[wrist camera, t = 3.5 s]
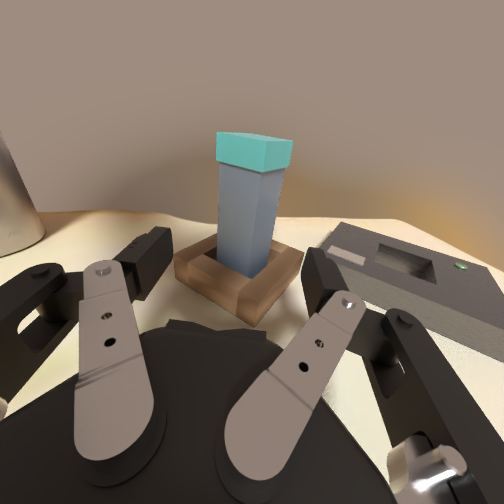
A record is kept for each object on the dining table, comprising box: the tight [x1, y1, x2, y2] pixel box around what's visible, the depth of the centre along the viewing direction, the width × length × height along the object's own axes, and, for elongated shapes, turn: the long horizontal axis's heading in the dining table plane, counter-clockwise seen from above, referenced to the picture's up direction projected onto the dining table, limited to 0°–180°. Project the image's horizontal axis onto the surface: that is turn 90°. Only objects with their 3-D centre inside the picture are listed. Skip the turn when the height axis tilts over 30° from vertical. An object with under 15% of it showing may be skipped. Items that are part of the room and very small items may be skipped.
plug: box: [216, 132, 293, 279], centre depth 20 cm, size 4×4×14 cm
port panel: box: [320, 222, 504, 363], centre depth 26 cm, size 18×13×3 cm
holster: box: [173, 233, 304, 327], centre depth 23 cm, size 10×10×3 cm
